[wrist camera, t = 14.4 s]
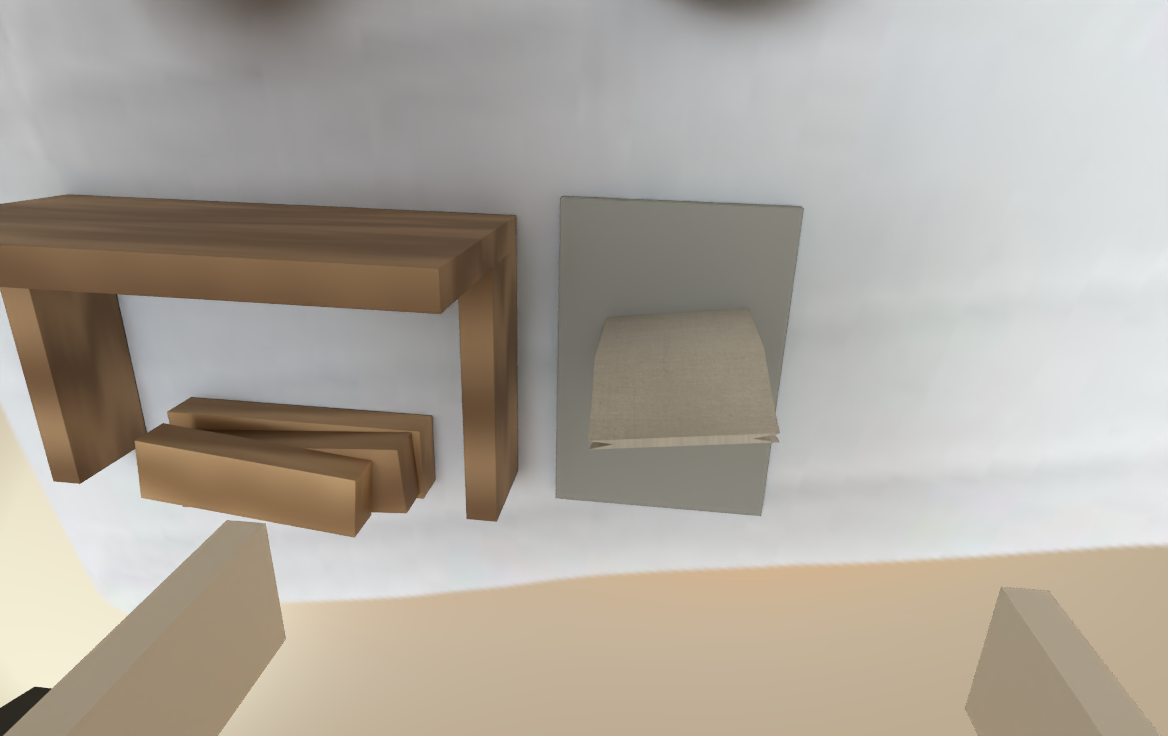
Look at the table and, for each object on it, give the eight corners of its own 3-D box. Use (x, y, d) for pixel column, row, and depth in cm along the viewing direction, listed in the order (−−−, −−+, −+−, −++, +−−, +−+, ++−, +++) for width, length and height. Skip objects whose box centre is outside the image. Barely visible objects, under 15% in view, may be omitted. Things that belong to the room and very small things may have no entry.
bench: (67, 194, 36) (-208, 233, 24) (516, 215, 33) (438, 269, 22) (124, 438, 41) (-84, 563, 29) (517, 471, 38) (455, 620, 27)
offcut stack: (190, 391, 39) (109, 438, 33) (431, 409, 38) (389, 462, 32) (204, 468, 41) (130, 525, 35) (435, 488, 39) (396, 551, 34)
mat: (562, 196, 33) (560, 197, 32) (800, 206, 32) (803, 208, 31) (557, 490, 38) (555, 498, 38) (759, 508, 37) (761, 515, 37)
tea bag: (606, 317, 34) (582, 396, 24) (748, 308, 33) (779, 387, 23) (613, 387, 35) (592, 488, 26) (750, 380, 34) (780, 482, 25)
